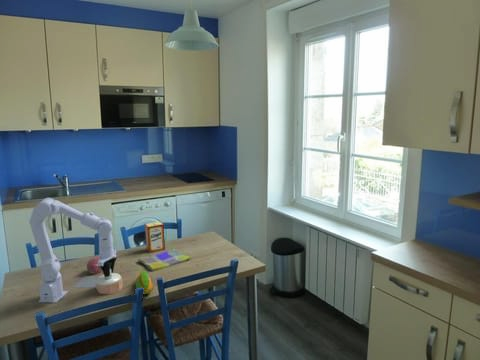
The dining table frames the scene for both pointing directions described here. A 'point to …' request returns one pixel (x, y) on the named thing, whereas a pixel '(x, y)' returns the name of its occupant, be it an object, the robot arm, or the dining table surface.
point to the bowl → (110, 287)
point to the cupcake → (93, 266)
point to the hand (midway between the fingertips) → (108, 274)
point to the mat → (87, 282)
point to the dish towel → (163, 260)
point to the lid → (108, 279)
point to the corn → (144, 282)
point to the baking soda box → (155, 236)
